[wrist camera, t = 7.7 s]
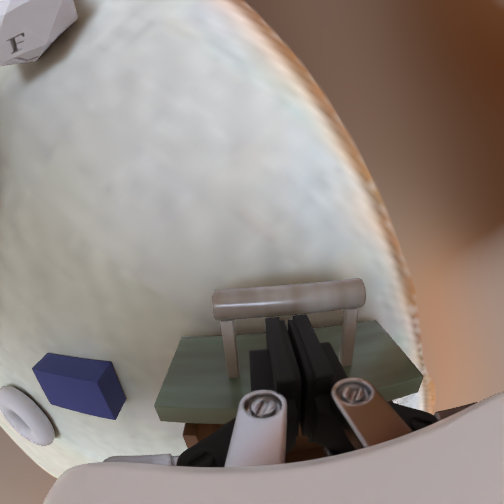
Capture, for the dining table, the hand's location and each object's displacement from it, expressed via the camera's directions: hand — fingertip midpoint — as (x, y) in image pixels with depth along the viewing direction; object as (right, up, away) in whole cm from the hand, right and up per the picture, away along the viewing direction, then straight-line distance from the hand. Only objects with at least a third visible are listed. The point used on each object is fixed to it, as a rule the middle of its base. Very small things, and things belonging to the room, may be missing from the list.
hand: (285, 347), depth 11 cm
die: (-19, +23, +2) cm, 30 cm away
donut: (-31, -17, +11) cm, 38 cm away
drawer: (+1, -6, +8) cm, 10 cm away
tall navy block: (-17, -8, +9) cm, 21 cm away
